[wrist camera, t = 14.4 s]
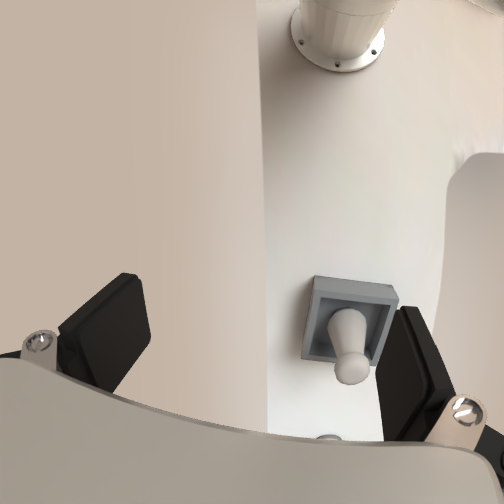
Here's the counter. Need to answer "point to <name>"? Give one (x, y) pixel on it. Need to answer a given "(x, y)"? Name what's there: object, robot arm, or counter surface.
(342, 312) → the salt shaker
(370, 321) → the box
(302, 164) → the counter surface
